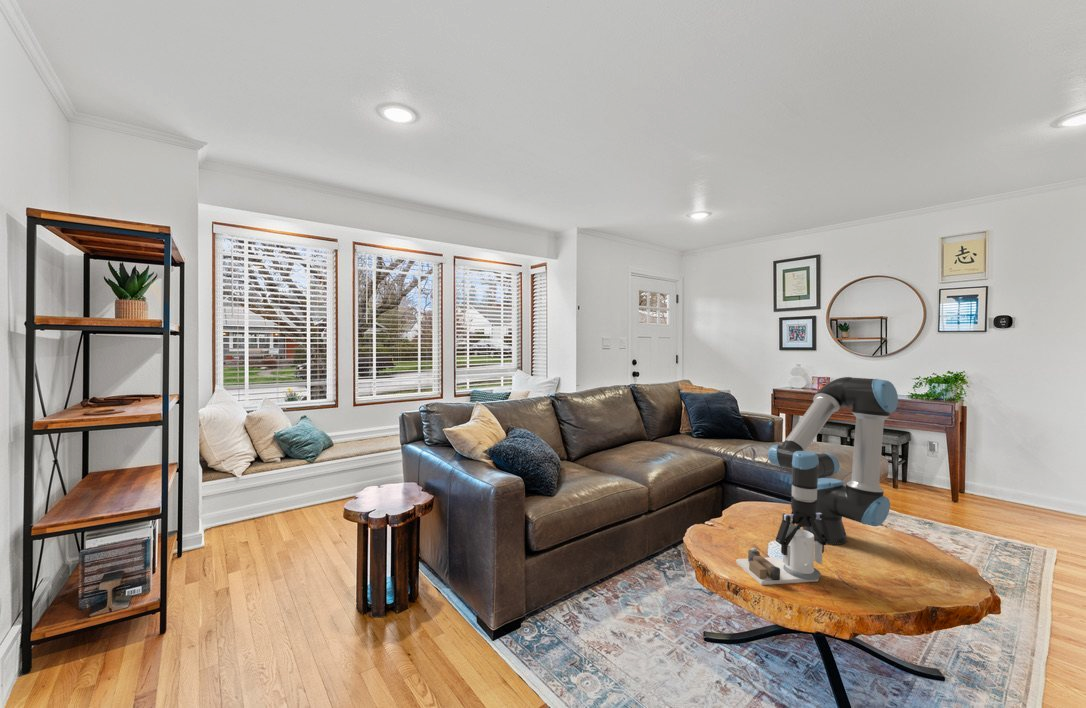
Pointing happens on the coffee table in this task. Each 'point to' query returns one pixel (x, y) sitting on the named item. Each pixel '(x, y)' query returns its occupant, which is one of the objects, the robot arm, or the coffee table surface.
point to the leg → (765, 564)
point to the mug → (802, 552)
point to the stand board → (785, 574)
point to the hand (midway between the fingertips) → (802, 563)
